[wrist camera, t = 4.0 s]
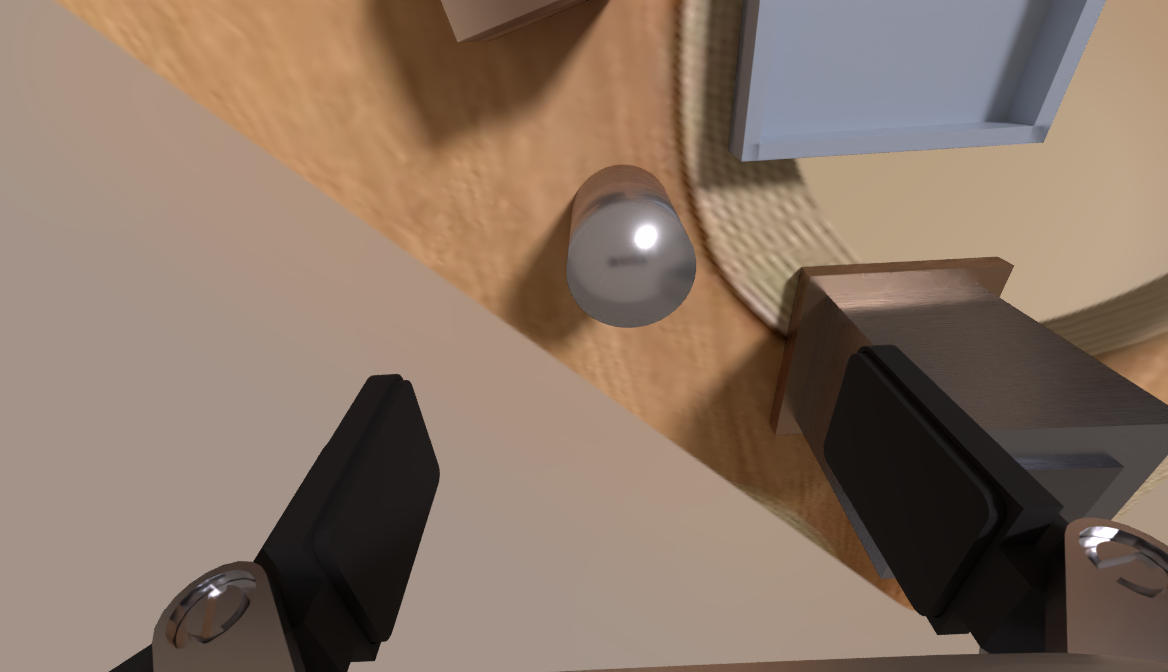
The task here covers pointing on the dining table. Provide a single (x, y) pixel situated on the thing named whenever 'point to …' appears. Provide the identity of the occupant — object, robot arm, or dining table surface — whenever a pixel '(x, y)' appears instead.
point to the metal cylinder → (627, 249)
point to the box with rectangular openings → (972, 377)
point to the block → (498, 16)
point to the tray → (901, 74)
